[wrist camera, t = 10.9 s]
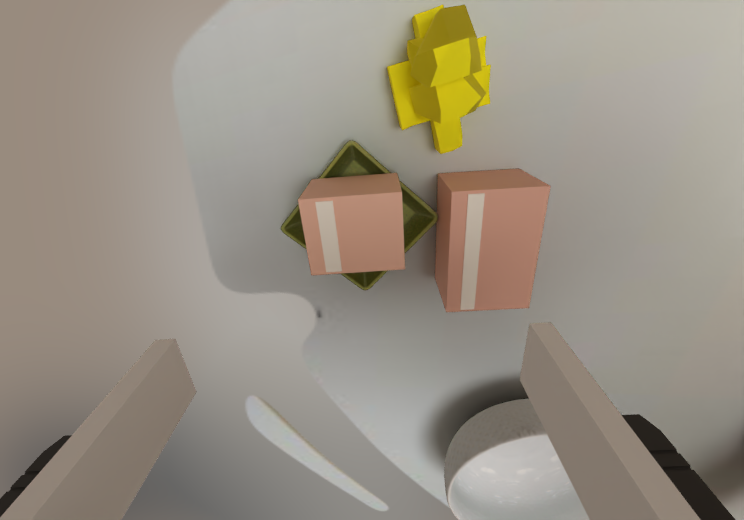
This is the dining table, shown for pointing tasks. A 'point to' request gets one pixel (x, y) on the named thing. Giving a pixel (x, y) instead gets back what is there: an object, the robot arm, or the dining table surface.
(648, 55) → the dining table surface
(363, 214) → the pink box
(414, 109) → the yellow faceted figurine
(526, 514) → the cereal bowl
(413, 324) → the dining table surface
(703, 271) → the dining table surface
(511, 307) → the pink striped box
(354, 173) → the green square tray
